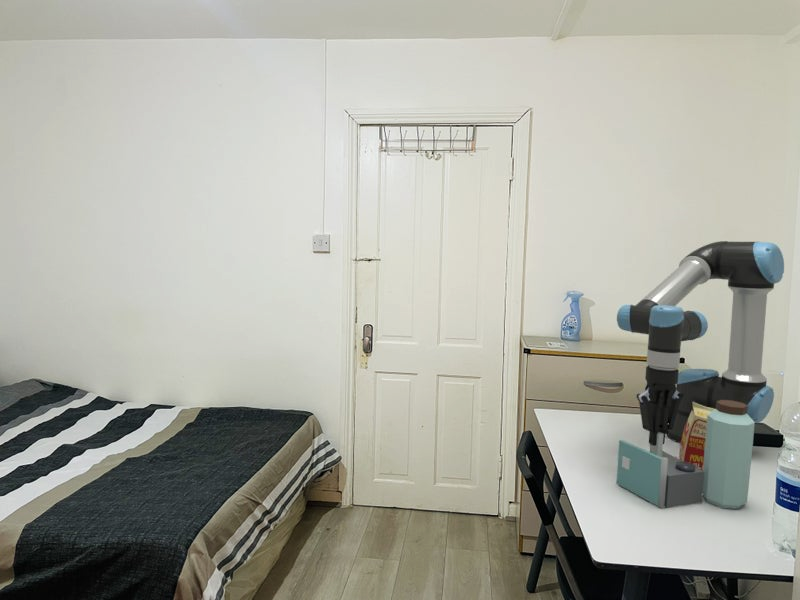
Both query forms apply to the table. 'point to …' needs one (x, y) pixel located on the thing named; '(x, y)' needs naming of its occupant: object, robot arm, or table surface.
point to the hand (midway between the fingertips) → (655, 456)
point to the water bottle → (728, 454)
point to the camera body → (682, 482)
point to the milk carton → (695, 436)
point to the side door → (642, 472)
